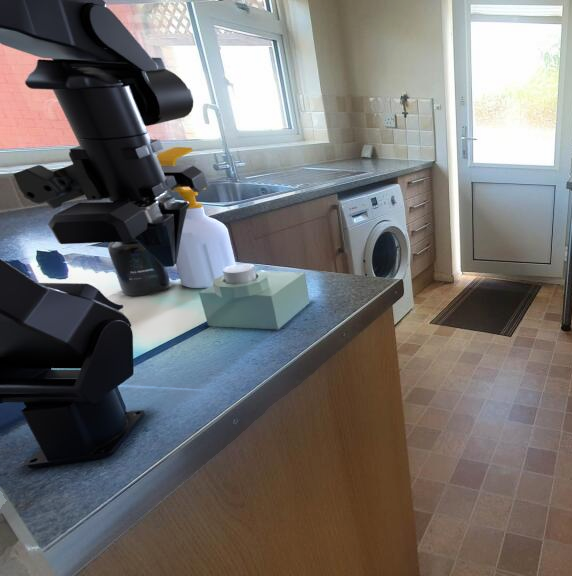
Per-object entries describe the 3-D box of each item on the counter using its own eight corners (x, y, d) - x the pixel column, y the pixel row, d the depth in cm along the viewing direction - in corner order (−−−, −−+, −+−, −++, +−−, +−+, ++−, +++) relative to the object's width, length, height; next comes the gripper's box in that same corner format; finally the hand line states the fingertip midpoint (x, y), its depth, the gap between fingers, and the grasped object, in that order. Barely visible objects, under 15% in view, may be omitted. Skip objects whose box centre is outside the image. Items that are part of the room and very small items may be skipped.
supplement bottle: (144, 298, 71) (121, 231, 66) (112, 294, 72) (88, 228, 68) (181, 284, 77) (162, 222, 73) (151, 280, 78) (131, 219, 74)
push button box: (273, 334, 62) (263, 288, 59) (201, 330, 62) (187, 284, 59) (310, 302, 72) (303, 262, 69) (248, 299, 72) (239, 259, 69)
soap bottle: (249, 275, 83) (220, 147, 73) (208, 291, 75) (170, 151, 65) (213, 269, 85) (181, 145, 75) (169, 285, 77) (127, 147, 67)
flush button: (246, 286, 60) (243, 273, 59) (219, 285, 60) (216, 272, 60) (262, 276, 64) (259, 264, 63) (237, 275, 64) (234, 263, 63)
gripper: (82, 118, 49) (138, 237, 57) (-73, 155, 33) (34, 312, 41) (187, 119, 51) (226, 234, 59) (87, 155, 36) (159, 304, 44)
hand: (170, 265), depth 51 cm, fingers closed
